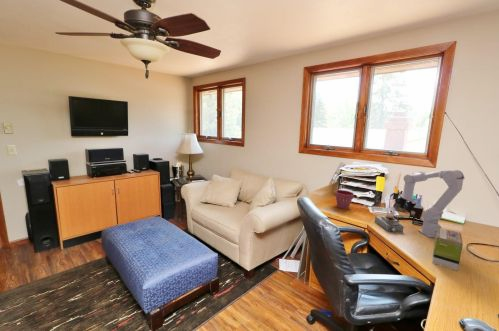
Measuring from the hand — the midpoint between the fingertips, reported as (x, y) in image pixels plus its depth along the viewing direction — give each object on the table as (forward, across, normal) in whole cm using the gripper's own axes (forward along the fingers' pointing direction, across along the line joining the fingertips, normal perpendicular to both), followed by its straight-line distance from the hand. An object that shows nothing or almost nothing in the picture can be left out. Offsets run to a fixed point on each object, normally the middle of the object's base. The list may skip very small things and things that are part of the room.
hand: (405, 209), depth 164 cm
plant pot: (+10, +29, +32) cm, 44 cm away
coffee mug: (+10, +10, -14) cm, 20 cm away
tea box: (+10, -47, +9) cm, 49 cm away
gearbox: (+10, -7, +15) cm, 19 cm away
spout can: (+6, -6, +14) cm, 16 cm away
